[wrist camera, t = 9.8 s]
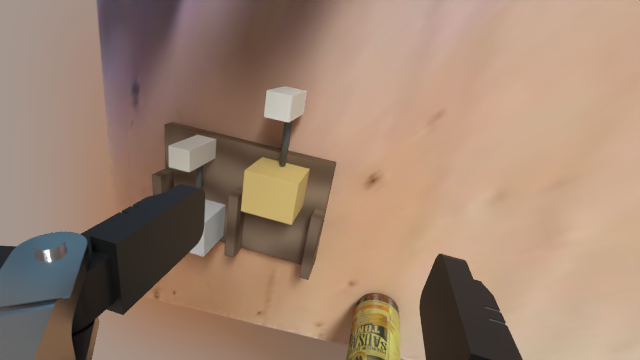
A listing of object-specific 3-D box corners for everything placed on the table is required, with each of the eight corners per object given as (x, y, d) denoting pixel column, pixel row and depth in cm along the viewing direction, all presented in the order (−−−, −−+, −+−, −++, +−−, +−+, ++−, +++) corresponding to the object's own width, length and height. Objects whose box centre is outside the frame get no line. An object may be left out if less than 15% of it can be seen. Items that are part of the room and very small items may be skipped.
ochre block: (270, 82, 33) (248, 86, 28) (323, 94, 32) (311, 99, 27) (258, 193, 38) (238, 213, 33) (303, 205, 38) (289, 228, 33)
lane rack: (172, 122, 39) (150, 128, 36) (336, 162, 37) (330, 173, 33) (173, 220, 45) (154, 234, 41) (314, 261, 42) (308, 279, 39)
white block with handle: (184, 131, 38) (153, 141, 33) (229, 142, 37) (204, 154, 32) (184, 224, 43) (157, 246, 38) (223, 235, 42) (201, 259, 37)
